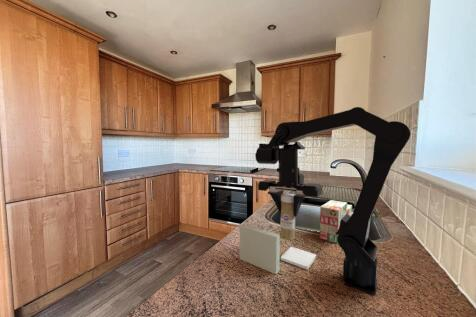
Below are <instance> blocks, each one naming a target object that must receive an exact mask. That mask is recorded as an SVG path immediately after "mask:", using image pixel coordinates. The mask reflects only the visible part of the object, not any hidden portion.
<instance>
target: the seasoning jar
mask: <svg viewBox="0 0 476 317" xmlns="http://www.w3.org/2000/svg"><path fill="white" fill-rule="evenodd" d="M294 195H295V194H294V193H283V194H282V195H281V202H282V203H281V214H280V231H279V232H280V239H282V240H285V241H293V240H295V235H296V234H295V232H296V230H295V228H296V217H294Z"/></svg>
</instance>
